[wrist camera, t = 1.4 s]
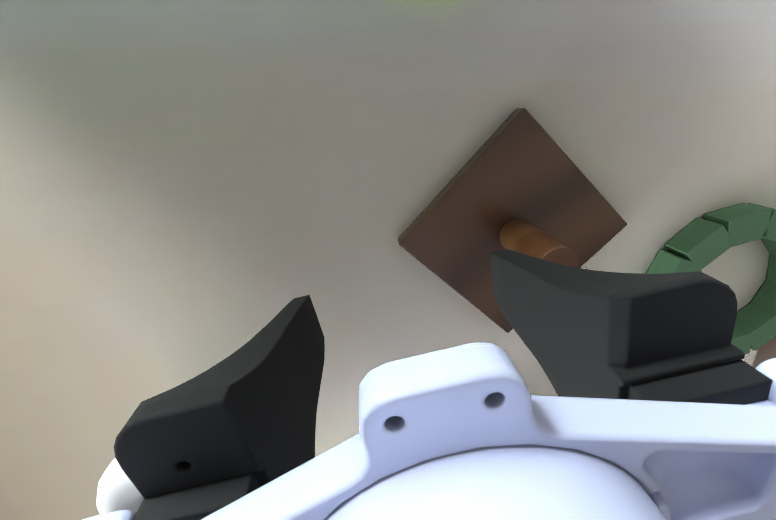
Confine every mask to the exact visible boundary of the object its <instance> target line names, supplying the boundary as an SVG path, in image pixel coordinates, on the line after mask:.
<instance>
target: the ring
mask: <svg viewBox="0 0 776 520" xmlns="http://www.w3.org/2000/svg"><path fill="white" fill-rule="evenodd" d="M757 239H762V241H763V243H764V244H765V246H766V248H767V250H768V251H769V253H770V259H769V265H768V271H767V278H766V281H765V282H764V284H763V285H762V287H761V288H760V290H759V291H758V292H757V294H756V295H755V297H754V298H753V300H752V301H751V303H750V304H748V305H747V306H745V307H744V308H743V309H741V310H740V311H738V312H737V317H736V321H735V326H734V331H733V336H732V341H731V344H732V345H734V346H736V347H737V348H739V349H740V350H742V351H743V352H744V354H749V353H750V348H751V349H753V350H757V349H758V348H760V347H761V346H763V345H764V344H766V343H767V342H769V341H770V340H772V339H773V338H775V337H776V209H773V208H769V207H764V206H760V205H756V204H751V203H748V204H744V203H741V204H738V205H734V206H730V207H727V208H723V209H720V210H716V211H713V212H709V213H706V214H704V217H703V219H701V218H696V219H695V220H694V221H693V222H691V223H690V224H689V225H688V226H686V227H685V228H684V229H683V230H681V231H680V232H679V233H678V234H676V235H675V236H674V237H673V238H671V239H670V240H669V241H668V242H666V243H665V246H666V247H667V249H668V250H669V251H666V250H662V249H660V250H659V252H658V254H657V255H656V257H655V259H654V261H653V263H652V264H651V266H650V268H649V270H648V272H647V273H646V274H664V273H680V272H696V271H700V272H701V270H702V268H704V267H705V266H706V265H708V264H709V263H710V262H712V261H713V260H714V259H716V258H717V257H718V256H720V255H721V254H722V253H723V252H725V251H726V250H727V249H729V248H730V247H732V246H736V245H739V244H743V243H746V242H750V241H753V240H757Z"/></svg>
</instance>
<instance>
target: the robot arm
mask: <svg viewBox="0 0 776 520" xmlns="http://www.w3.org/2000/svg"><path fill="white" fill-rule="evenodd" d="M490 262H491V271H492V280H493V289H494V297H495V300H496V302H497V303H498V305H499V307H500V309H501V311H502V313H503V315H504V316H505V318H506V319H507V321H508V322H509V323H510V325H511V326H512V327H513V329H514V330H515V331H516V333H517V334H518V335H519V337H520V338H521V339H522V341H523V342H524V343H525V344H526V346H527V347H528V348H529V350H530V351H531V352H532V354H533V355H534V356H535V358H536V359H537V361H538V362H539V364H540V365H541V367H542V368H543V370H544V372H545V373H546V375H547V377H548V379H549V380H550V382H551V384H552V385H553V387H554V389H555V391H556V392H557V394H558V396H537V395H531V394H530V392H529V390H528V387H527V385H526V383H525V381H524V379H523V378H522V376H521V374H520V373H519V371H518V369H517V368H516V366H515V365H514V363H513V361H512V360H511V358H510V357H509V355H508V353H507V352H506V351H505V350H503V349H502V348H500V347H498V346H496V345H494V344H492V343H469V344H464V345H460V346H456V347H451V348H447V349H443V350H439V351H434V352H430V353H426V354H422V355H417V356H413V357H409V358H404V359H400V360H396V361H392V362H387V363H385V364H383V365H381V366H379V367H377V368H375V369H373V370H370V371H369V372H368V374H367V375H366V376H365V378H364V379H363V380H362V382H361V383H360V384H359V434H357V435H355V436H353V437H351V438H349V439H348V440H346V441H344V442H342V443H340V444H338V445H337V446H335V447H333V448H331V449H329V450H327V451H326V452H324V453H322V454H320V455H318V456H316V457H315V427H316V412H317V404H318V398H319V391H320V385H321V379H322V372H323V365H324V350H325V349H324V335H323V332H322V329H321V327H320V324H319V321H318V318H317V315H316V312H315V309H314V307H313V304H312V301H311V298H310V295H307V296H303V297H299V298H295V299H293V300H292V301H291V302H290V303H288V304H287V305H286V306H285V307H284V308H283V309H282V310H281V311H280V312H279V313H278V314H277V315H276V316H275V317H274V318H273V319H272V320H271V321H270V322H269V323H268V324H267V325H266V326H265V327H264V328H263V329H262V330H261V331H260V332H259V333H258V334H256V335H255V336H254V337H253V338H252V339H251V340H250V341H249V342H247V343H246V344H245V345H244V346H242V347H241V348H240V349H238V350H237V351H236V352H234V353H233V354H232V355H230V356H229V357H227V358H226V359H224V360H223V361H221V362H219V363H218V364H216V365H215V366H213V367H212V368H210V369H209V370H207V371H205V372H203V373H202V374H200V375H198V376H196V377H194V378H193V379H191V380H189V381H187V382H185V383H183V384H181V385H179V386H177V387H175V388H173V389H170V390H168V391H166V392H164V393H161V394H159V395H157V396H154V397H152V398H150V399H148V400H145V401H143V402H141V403H140V405H139V406H138V408H137V409H136V410H135V412H134V413H133V415H132V416H131V417H130V419H129V420H128V422H127V423H126V425H125V426H124V427H123V429H122V430H121V432H120V433H119V434H118V436H117V437H116V440H115V444H114V453H115V458H116V460H117V462H118V463H119V465H120V467H121V469H122V470H123V471H124V473H125V474H126V475H127V477H128V478H129V479H130V481H131V482H132V483H133V485H134V486H135V487H136V488H137V490H138V491H139V492H140V494H141V495H142V496H143V498H144V499H143V501H142V503H141V505H140V507H139V509H138V511H137V512H134V511H131V510H118V511H114V512H110V513H106V514H101V515H97V516H93V517H88V518H85V519H82V520H776V358H773V359H769V360H766V361H764V362H762V363H761V364H760V365H758V366H757V367H756V369H755V368H753V367H752V366H750V365H749V364H747V363H745V362H744V361H742V360H741V359H744V356H745V354H744V352H743V351H742V350H740V349H739V348H737V347H736V346H734V345H732V344H731V341H732V336H733V331H734V326H735V321H736V317H737V300H736V296H735V293H734V292H733V291H732V290H731V288H730V287H729V286H728V285H726V284H724V283H722V282H720V281H718V280H716V279H714V278H712V277H710V276H708V275H706V274H704V273H702V272H700V271H696V272H680V273H664V274H632V273H614V272H603V271H594V270H588V269H581V268H575V267H570V266H566V265H562V264H557V263H553V262H550V261H546V260H542V259H539V258H536V257H532V256H529V255H526V254H523V253H519V252H516V251H512V250H508V249H503V250H499V251H494V252H490Z"/></svg>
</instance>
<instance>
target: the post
mask: <svg viewBox="0 0 776 520" xmlns="http://www.w3.org/2000/svg"><path fill="white" fill-rule="evenodd" d="M626 225H627V223H626V222H625V221H624V220H623V219H622V217H621V216H620V215H619V214H618V213H617V212H616V211H615V210H614V208H613V207H612V206H611V205H610V204H609V203H608V202H607V201H606V199H605V198H604V197H603V196H602V195H601V194H600V193H599V191H598V190H597V189H596V188H595V187H594V186H593V185H592V184H591V182H590V181H589V180H588V179H587V178H586V177H585V176H584V174H583V173H582V172H581V171H580V170H579V169H578V168H577V167H576V165H575V164H574V163H573V162H572V161H571V160H570V159H569V158H568V156H567V155H566V154H565V153H564V152H563V151H562V150H561V148H560V147H559V146H558V145H557V144H556V143H555V142H554V141H553V139H552V138H551V137H550V136H549V135H548V134H547V133H546V132H545V130H544V129H543V128H542V127H541V126H540V125H539V124H538V122H537V121H536V120H535V119H534V118H533V117H532V116H531V115H530V113H529V112H528V111H527V110H526V109H525V108H517V109H516V110H515V111H514V112H513V113H512V114H511V115H510V116H509V118H508V119H507V120H506V121H505V122H504V123H503V124H502V125H501V126H500V127H499V129H498V130H497V131H496V132H495V133H494V134H493V135H492V136H491V137H490V138H489V140H488V141H487V142H486V143H485V144H484V145H483V146H482V147H481V148H480V149H479V151H478V152H477V153H476V154H475V155H474V156H473V157H472V158H471V159H470V160H469V162H468V163H467V164H466V165H465V166H464V167H463V168H462V169H461V170H460V171H459V173H458V174H457V175H456V176H455V177H454V178H453V179H452V180H451V181H450V182H449V184H448V185H447V186H446V187H445V188H444V189H443V190H442V191H441V192H440V193H439V195H438V196H437V197H436V198H435V199H434V200H433V201H432V202H431V203H430V204H429V206H428V207H427V208H426V209H425V210H424V211H423V212H422V213H421V214H420V215H419V217H418V218H417V219H416V220H415V221H414V222H413V223H412V224H411V225H410V226H409V228H408V229H407V230H406V231H405V232H404V233H403V234H402V235H401V236H400V237H399V239H398V242H399V245H400V246H401V247H403V248H404V249H405V250H406V251H408V252H409V253H410V254H411V255H412V256H414V257H415V258H416V259H417V260H419V261H420V262H421V263H422V264H424V265H425V266H426V267H427V268H428V269H430V270H431V271H432V272H433V273H435V274H436V275H437V276H438V277H440V278H441V279H442V280H443V281H444V282H446V283H447V284H448V285H449V286H451V287H452V288H453V289H454V290H456V291H457V292H458V293H459V294H460V295H462V296H463V297H464V298H465V299H467V300H468V301H469V302H470V303H472V304H473V305H474V306H475V307H476V308H478V309H479V310H480V311H481V312H483V313H484V314H485V315H486V316H488V317H489V318H490V319H491V320H492V321H494V322H495V323H496V324H497V325H499V326H500V327H501V328H502V329H504V330H505V331H506V332H507V333H509V332H510V331H511V330H512V329H513V327H512V326H511V325H510V323H509V322H508V321H507V319H506V318H505V316H504V315H503V313H502V311H501V309H500V307H499V305H498V303H497V302H496V300H495V297H494V289H493V280H492V271H491V262H490V252H494V251H499V250H503V249H508V250H512V251H516V252H519V253H523V254H526V255H529V256H532V257H536V258H539V259H542V260H546V261H550V262H553V263H557V264H562V265H566V266H570V267H575V268H580V267H581V266H582V265H583V264H584V263H586V262H587V261H588V260H589V259H590V258H591V257H592V256H593V255H594V254H595V253H596V252H598V251H599V250H600V249H601V248H602V247H603V246H604V245H605V244H606V243H607V242H609V241H610V240H611V239H612V238H613V237H614V236H615V235H616V234H617V233H618V232H620V231H621V230H622V229H623V228H624V227H625V226H626Z"/></svg>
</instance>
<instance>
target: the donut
mask: <svg viewBox="0 0 776 520" xmlns="http://www.w3.org/2000/svg"><path fill="white" fill-rule="evenodd" d="M143 499H144V498H143V496H142V495H141V494H140V492H139V491H138V490H137V488H136V487H135V486H134V485H133V483H132V482H131V481H130V479H129V478H128V477H127V475H126V474H125V473H124V471H123V470H122V469H121V467H120V465H119V463H118V462H117V460H116V458H115V459H114V460H113V461H112V462H111V463H110V465H109V466H108V468H107V469H106V471H105V472H104V474H103V475H102V477H101V479H100V481H99V483H98V491H97V501H96V506H97V508H98V511H99V513H100V515H101V514H106V513H110V512H114V511H118V510H131V511H134V512H137V511H138V509H139V507H140V505H141V503H142V501H143Z"/></svg>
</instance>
